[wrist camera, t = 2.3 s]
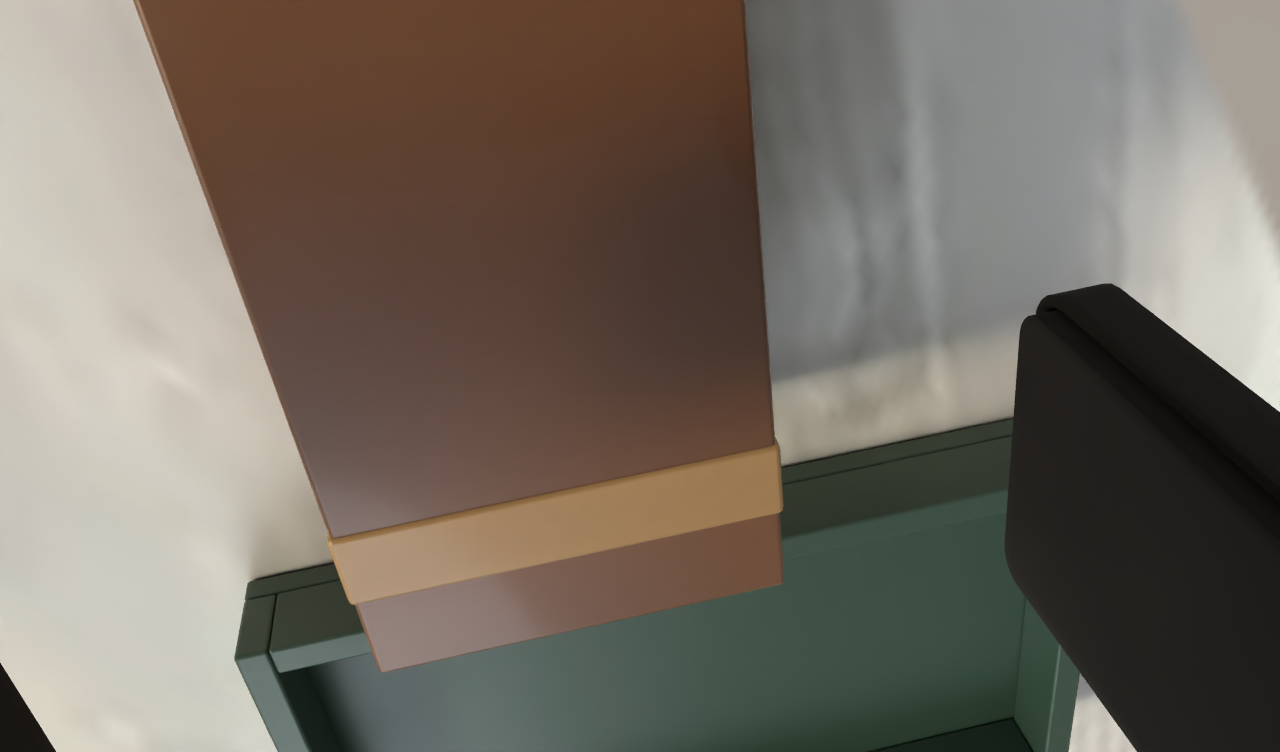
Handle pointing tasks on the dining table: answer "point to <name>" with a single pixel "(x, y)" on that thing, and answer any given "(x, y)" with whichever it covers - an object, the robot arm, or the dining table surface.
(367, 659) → the tray
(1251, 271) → the dining table surface
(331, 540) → the walnut box
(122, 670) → the dining table surface
